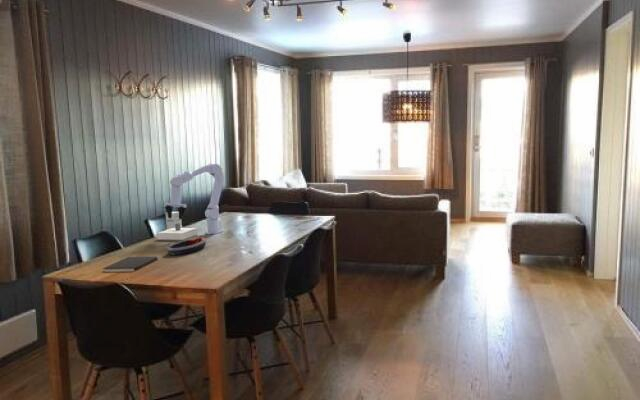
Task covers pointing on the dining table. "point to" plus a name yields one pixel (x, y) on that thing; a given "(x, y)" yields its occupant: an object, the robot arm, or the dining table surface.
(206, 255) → the dining table surface
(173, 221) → the supplement box
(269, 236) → the dining table surface
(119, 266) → the hardcover book
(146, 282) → the dining table surface
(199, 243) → the dish
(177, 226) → the flap
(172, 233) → the carton
